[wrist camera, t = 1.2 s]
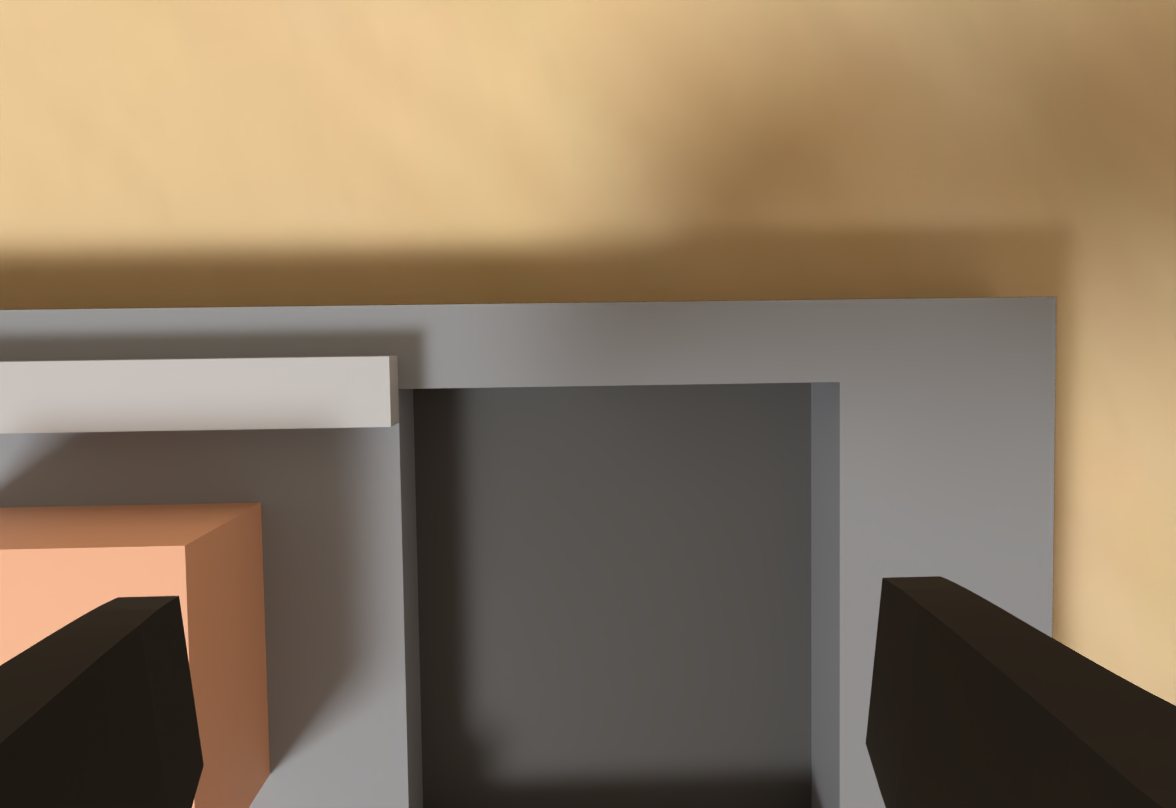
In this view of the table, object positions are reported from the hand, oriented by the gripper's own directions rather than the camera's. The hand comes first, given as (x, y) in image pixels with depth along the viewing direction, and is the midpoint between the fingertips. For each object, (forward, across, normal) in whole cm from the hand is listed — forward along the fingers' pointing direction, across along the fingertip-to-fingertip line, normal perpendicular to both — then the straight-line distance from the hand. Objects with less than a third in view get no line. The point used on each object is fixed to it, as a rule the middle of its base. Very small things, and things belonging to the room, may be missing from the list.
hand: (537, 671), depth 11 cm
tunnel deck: (+10, +5, +5) cm, 12 cm away
